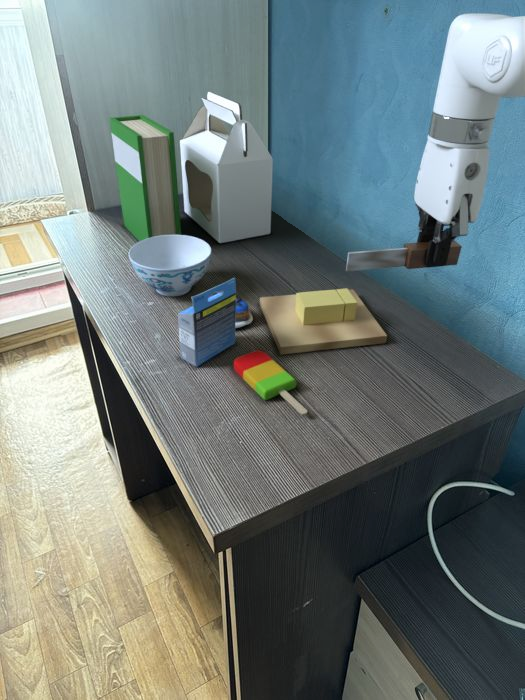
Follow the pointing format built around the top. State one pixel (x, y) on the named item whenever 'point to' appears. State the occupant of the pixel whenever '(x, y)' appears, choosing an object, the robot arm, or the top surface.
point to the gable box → (226, 173)
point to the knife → (397, 257)
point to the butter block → (319, 307)
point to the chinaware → (170, 262)
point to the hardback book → (146, 176)
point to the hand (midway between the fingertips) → (429, 260)
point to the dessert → (242, 313)
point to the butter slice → (348, 304)
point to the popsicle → (267, 377)
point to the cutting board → (318, 327)
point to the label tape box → (208, 324)
